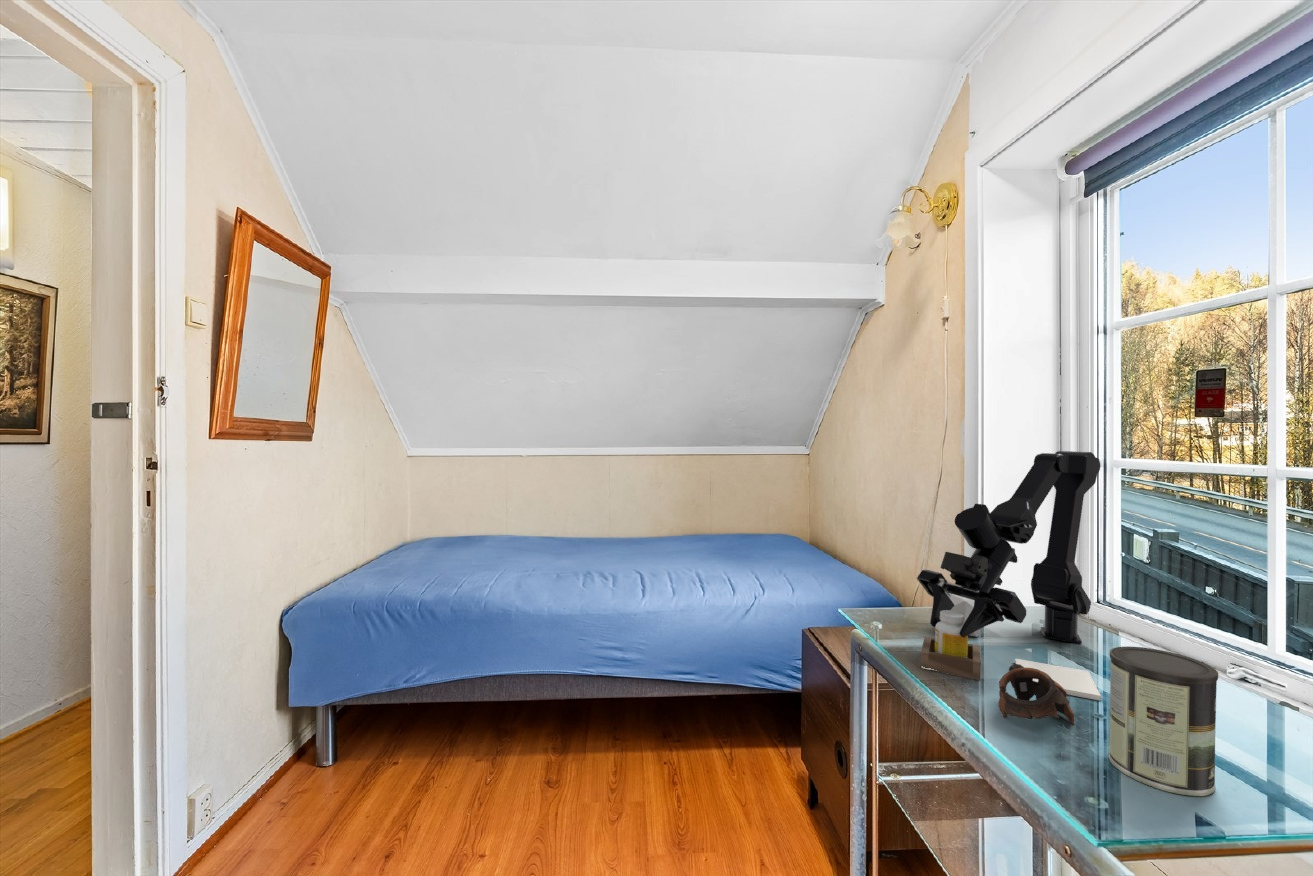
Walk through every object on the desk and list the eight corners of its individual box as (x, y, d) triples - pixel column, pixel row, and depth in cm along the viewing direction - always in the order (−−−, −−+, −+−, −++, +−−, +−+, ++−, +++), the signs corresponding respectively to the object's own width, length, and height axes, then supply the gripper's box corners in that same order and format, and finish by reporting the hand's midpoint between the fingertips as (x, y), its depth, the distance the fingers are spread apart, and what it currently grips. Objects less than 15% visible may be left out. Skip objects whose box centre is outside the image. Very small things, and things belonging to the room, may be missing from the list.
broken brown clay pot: (1095, 739, 81) (1077, 694, 79) (1028, 761, 83) (1009, 717, 81) (1045, 681, 93) (1028, 641, 91) (987, 702, 94) (970, 662, 93)
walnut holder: (924, 651, 111) (924, 636, 111) (979, 661, 107) (979, 645, 107) (920, 668, 103) (921, 652, 103) (980, 680, 99) (980, 663, 99)
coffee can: (1182, 756, 76) (1185, 650, 76) (1237, 804, 66) (1240, 683, 66) (1092, 743, 79) (1094, 641, 79) (1131, 788, 69) (1134, 671, 69)
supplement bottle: (927, 661, 107) (928, 610, 107) (949, 658, 109) (950, 607, 108) (951, 673, 102) (952, 619, 102) (974, 669, 103) (975, 616, 103)
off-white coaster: (1015, 662, 107) (1015, 658, 107) (1088, 675, 101) (1088, 671, 101) (1019, 685, 97) (1019, 680, 97) (1100, 700, 92) (1101, 695, 92)
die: (987, 633, 124) (961, 592, 129) (1003, 626, 117) (975, 582, 121) (953, 647, 124) (928, 605, 128) (967, 640, 116) (940, 595, 121)
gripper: (924, 529, 115) (883, 589, 110) (1018, 546, 98) (975, 618, 93) (949, 564, 119) (911, 625, 114) (1044, 587, 102) (1004, 659, 97)
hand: (946, 630), depth 104 cm, fingers open, 6 cm apart
